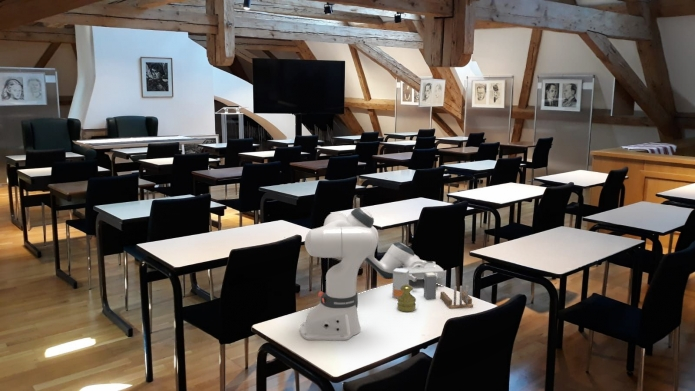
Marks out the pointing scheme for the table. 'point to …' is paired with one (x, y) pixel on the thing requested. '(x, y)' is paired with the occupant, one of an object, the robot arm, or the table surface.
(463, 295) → the cradle
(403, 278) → the skincare box
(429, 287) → the plug
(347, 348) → the table surface
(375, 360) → the table surface
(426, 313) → the table surface
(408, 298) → the brass weight
